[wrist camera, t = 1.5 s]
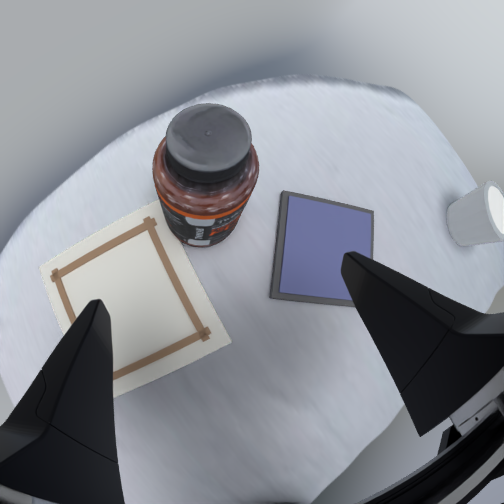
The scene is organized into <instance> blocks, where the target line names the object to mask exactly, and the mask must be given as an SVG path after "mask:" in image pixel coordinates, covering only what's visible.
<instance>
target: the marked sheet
mask: <svg viewBox="0 0 504 504" xmlns="http://www.w3.org/2000/svg"><path fill="white" fill-rule="evenodd" d="M39 270H40V273H41V276H42V279H43V282H44V285H45V288H46V291H47V294H48V297H49V300H50V302H51V305H52V308H53V310H54V313H55V315H56V318H57V320H58V323H59V325H60V328H61V330H62V332H63V335H65V333H66V332H67V331H68V329H69V328H70V326H71V325H72V324H73V322H74V321H75V320H76V318H77V317H78V316H79V314H80V313H81V312H82V310H83V309H84V308H85V306H86V305H87V304H88V303H89V301H91V300H94V299H101V300H102V301H103V303H104V305H105V307H106V309H107V311H108V312H109V314H110V318H111V331H112V347H113V398H115V397H117V396H120V395H122V394H124V393H127V392H129V391H131V390H134V389H136V388H138V387H141V386H143V385H145V384H147V383H150V382H152V381H154V380H156V379H158V378H161V377H163V376H165V375H167V374H169V373H171V372H174V371H176V370H178V369H180V368H182V367H184V366H186V365H188V364H190V363H192V362H194V361H196V360H198V359H200V358H202V357H204V356H206V355H208V354H210V353H212V352H214V351H216V350H218V349H220V348H222V347H224V346H226V345H228V344H230V343H232V340H231V338H230V337H229V335H228V333H227V331H226V329H225V328H224V326H223V324H222V322H221V320H220V318H219V317H218V315H217V313H216V311H215V309H214V307H213V305H212V304H211V302H210V300H209V298H208V296H207V294H206V292H205V290H204V288H203V286H202V284H201V282H200V281H199V279H198V277H197V275H196V273H195V271H194V269H193V267H192V265H191V263H190V261H189V259H188V257H187V255H186V253H185V251H184V248H183V246H182V244H181V242H180V240H179V239H178V238H176V237H175V235H174V234H173V233H172V232H171V230H170V229H169V227H168V225H167V223H166V220H165V217H164V214H163V210H162V207H161V204H160V201H159V199H158V200H156V201H154V202H152V203H150V204H148V205H146V206H144V207H142V208H140V209H138V210H136V211H134V212H132V213H130V214H128V215H126V216H124V217H123V218H121V219H119V220H117V221H115V222H113V223H111V224H110V225H108V226H106V227H104V228H102V229H101V230H99V231H97V232H95V233H93V234H92V235H90V236H88V237H87V238H85V239H83V240H81V241H80V242H78V243H76V244H75V245H73V246H71V247H70V248H68V249H66V250H65V251H63V252H62V253H60V254H58V255H57V256H55V257H54V258H52V259H50V260H49V261H47V262H46V263H44V264H43V265H41V266H40V267H39Z"/></svg>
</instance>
